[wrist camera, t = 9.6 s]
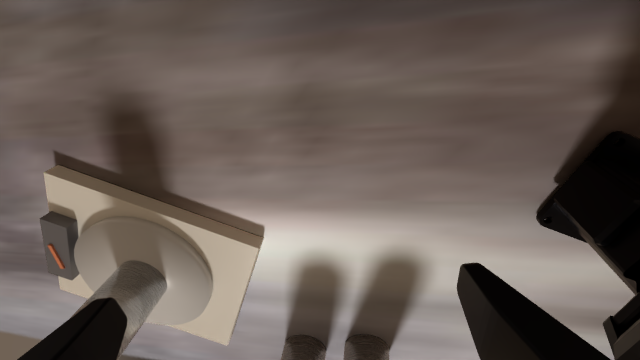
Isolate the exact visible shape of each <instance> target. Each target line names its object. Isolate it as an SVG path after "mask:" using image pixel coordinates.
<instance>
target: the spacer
mask: <svg viewBox="0 0 640 360" xmlns="http://www.w3.org/2000/svg"><path fill="white" fill-rule="evenodd" d="M166 290H167V282H166V279H165V278H164V276H163V275H162V274H161V273H160V272H159V271H158V270H157V269H156V268H154V267H153V266H151V265H149V264H147V263H145V262H141V261H136V260H130V261H126V262H124V263H122V264H121V265H120V266H119V267H118V268H117V269H116V270H115V271H114V273H113V274H112V275H111V276H110V277H109V278H108V279H107V280H106V281H105V282H104V283H103V284H102V285H101V286H100V287H99V288H98V289H97V290H96V291H95V293H94V294H93V295H92V296H91V297H90V298H89V299H88V300H87V301H86V302H85V303H84V304H83V305H82V306H81V307H80V308H79V309H78V310H77V311H76V313H75V314H77V313H78V312H79V311H80V310H82V309H83V308H84V307H86V306H87V305H88V304H89V303H91V302H92V301H94V300H95V299H98V298H108V297H112V298H114V299H116V301H117V302H118V304H119V305H120V307H121V308H122V310H123V311H124V313H125V314H126V316H127V321H128V322H127V328H126V331H125V334H124V337H123V341H122V344H121V347H120V351H119V354H118V357H117V360H118V359H119V357H120V356H121V355H122V353H123V352H124V350H125V349H126V347H127V346H128V345H129V343H130V342H131V340H132V339H133V337H134V336H135V335H136V333H137V332H138V330H139V329H140V328H141V326H142V325H143V323H144V322H145V320H146V319H147V318H148V316H149V315H150V313H151V312H152V311H153V309H154V308H155V306H156V305H157V303H158V302H159V301H160V299H161V298H162V296H163V295H164V293H165V292H166ZM75 314H74V315H75ZM74 315H73V316H74ZM73 316H72V317H73Z"/></svg>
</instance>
